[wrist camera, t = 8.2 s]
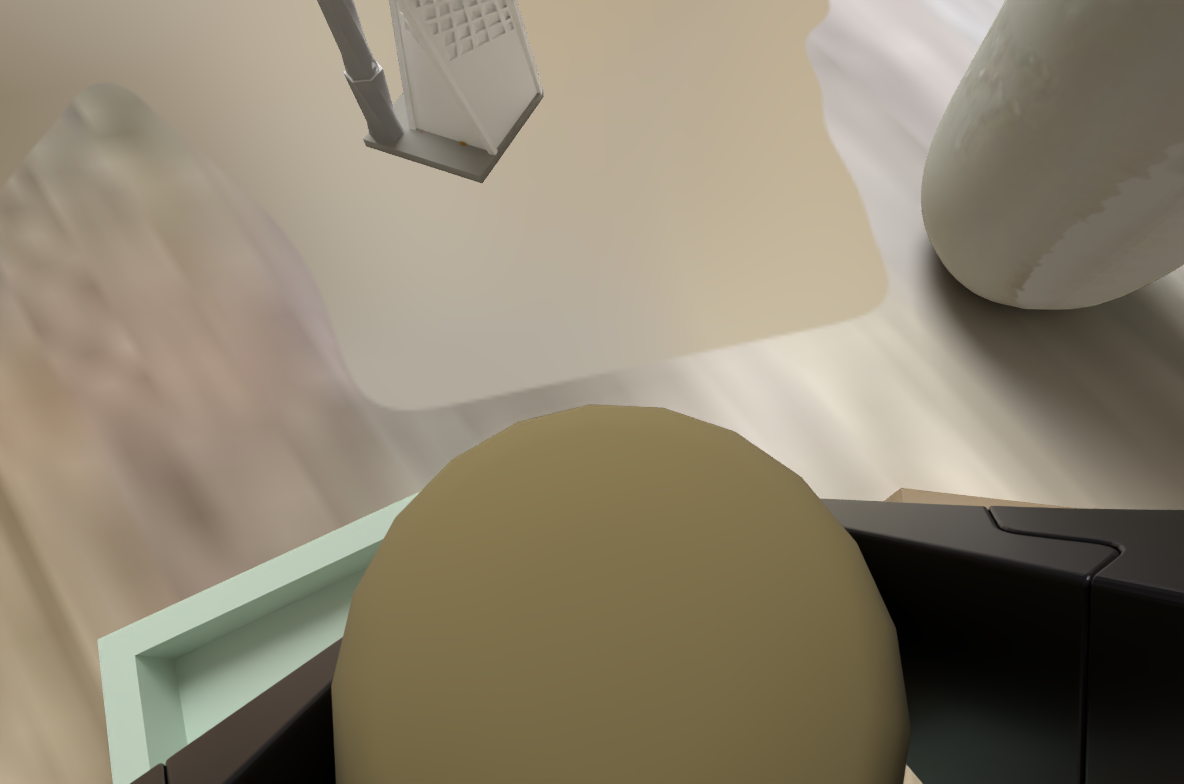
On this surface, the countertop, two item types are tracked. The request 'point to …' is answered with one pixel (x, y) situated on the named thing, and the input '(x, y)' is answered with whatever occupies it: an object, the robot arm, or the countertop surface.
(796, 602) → the cork
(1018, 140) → the grey bottle
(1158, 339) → the countertop surface
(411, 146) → the skyscraper
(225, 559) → the countertop surface
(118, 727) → the sage green tray
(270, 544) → the countertop surface
